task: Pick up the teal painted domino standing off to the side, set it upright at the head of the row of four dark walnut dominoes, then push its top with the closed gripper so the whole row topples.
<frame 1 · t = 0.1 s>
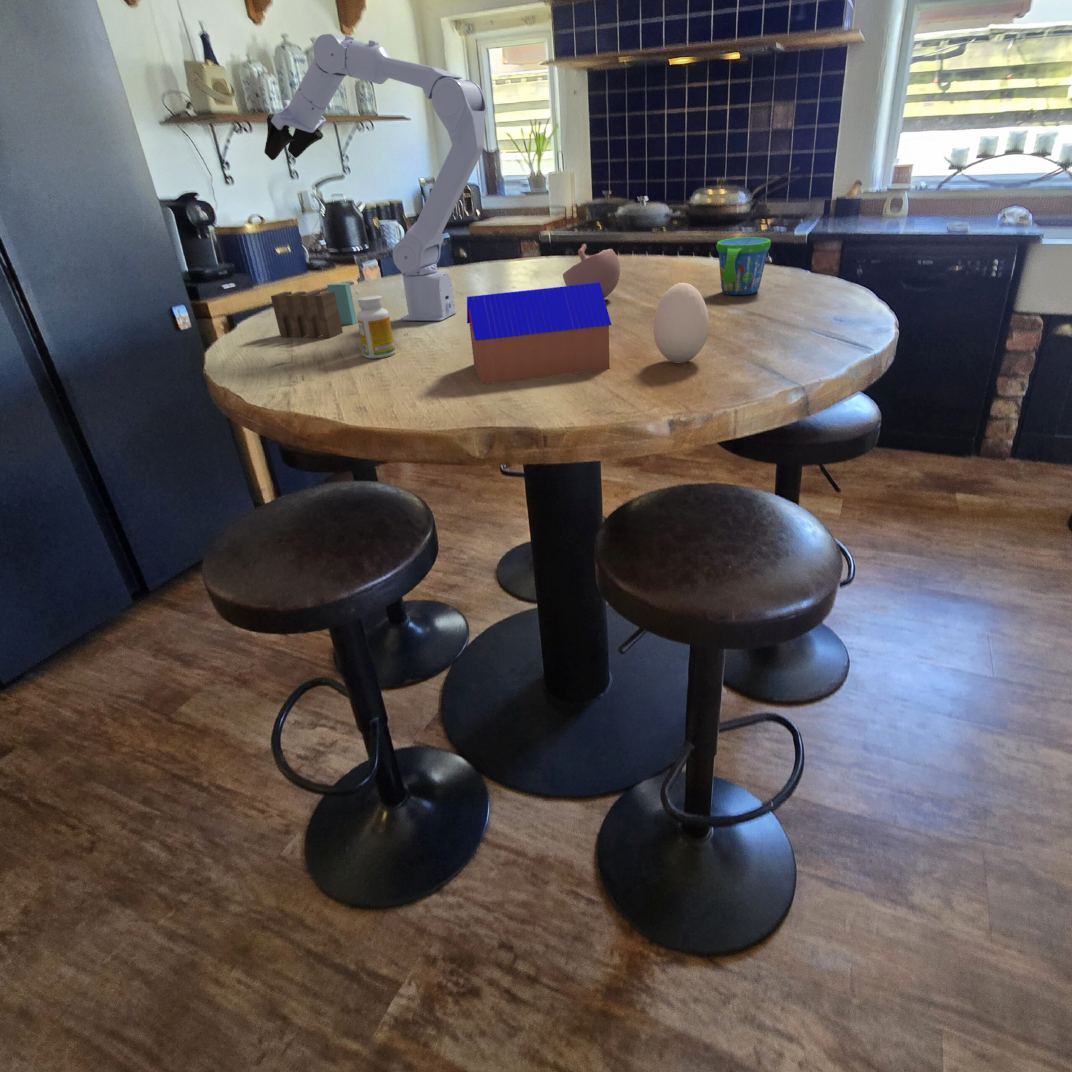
hand: (280, 155, 139), 32 cm above the table, tool tilted 50°, fingers open, 7 cm apart
tile4: (304, 334, 139), on the table
snack cup: (739, 293, 145), on the table
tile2: (333, 335, 137), on the table
supplement bottle: (380, 356, 120), on the table
house: (539, 369, 107), on the table
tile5: (290, 334, 140), on the table
tile3: (318, 335, 138), on the table
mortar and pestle: (592, 302, 148), on the table
teal tile: (346, 323, 146), on the table
egg: (679, 363, 104), on the table
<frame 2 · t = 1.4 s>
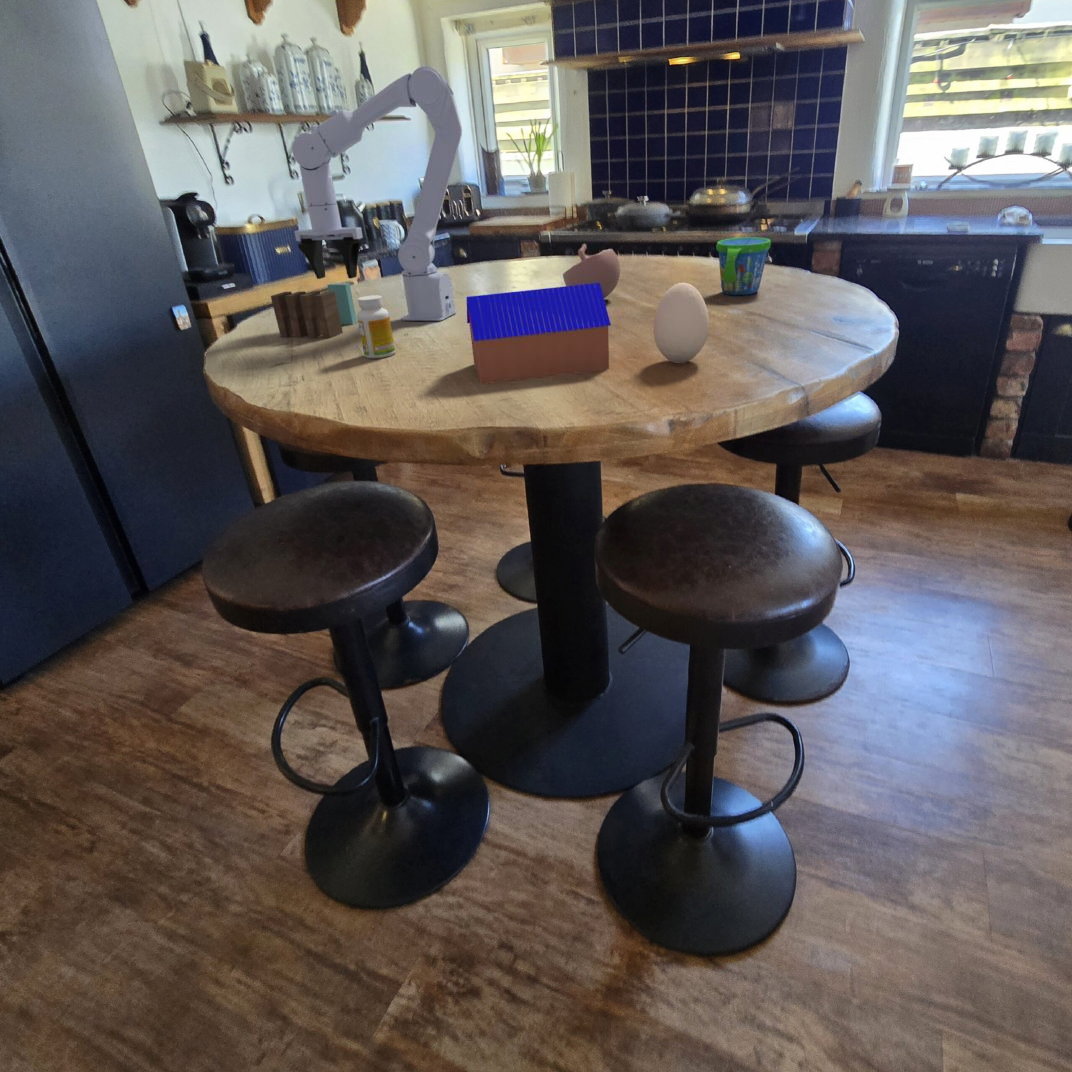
hand: (336, 277, 142), 9 cm above the table, tool pointing down, fingers open, 7 cm apart
nothing on the table moved.
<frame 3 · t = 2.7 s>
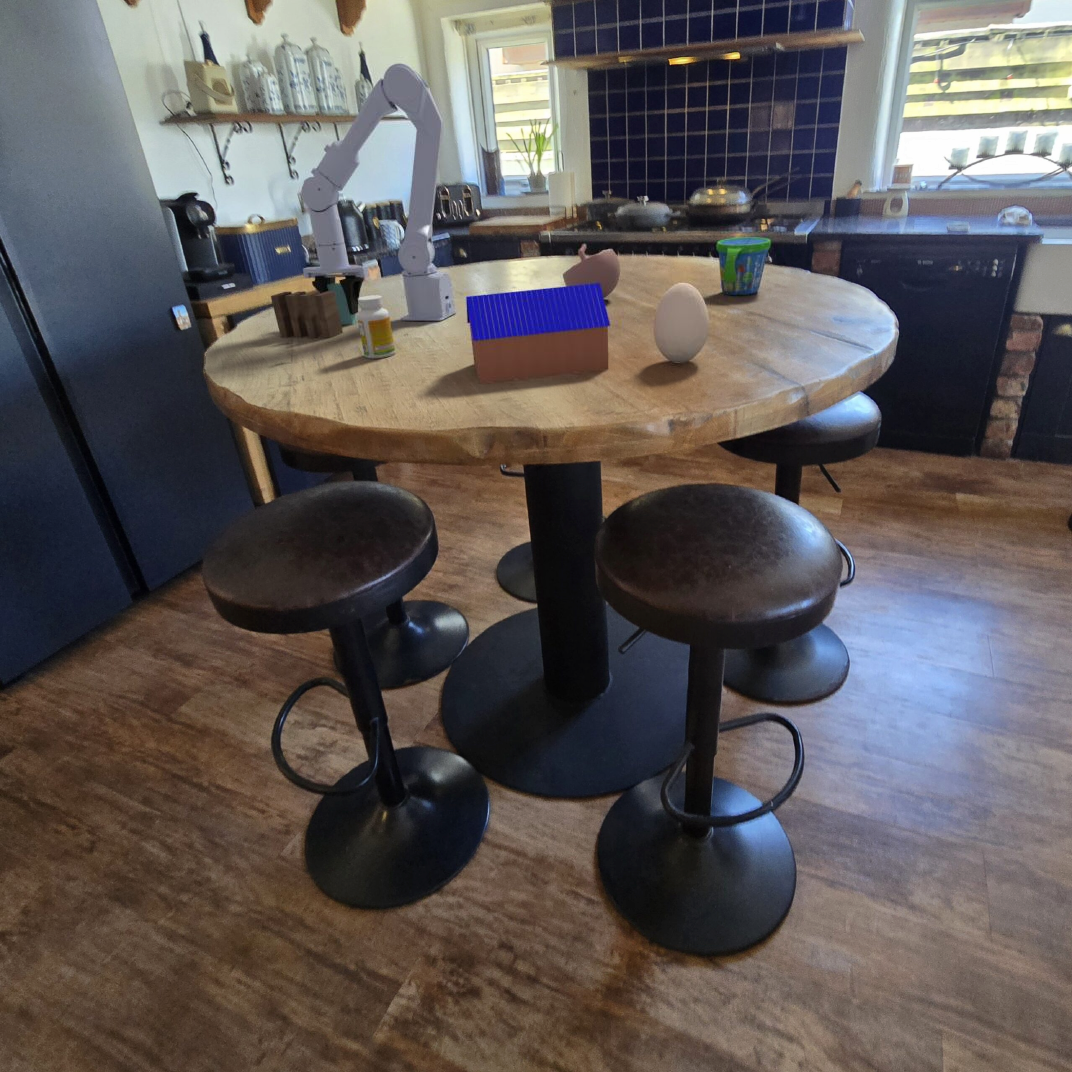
hand: (344, 313, 145), 2 cm above the table, tool pointing down, fingers closed on teal tile, 4 cm apart
teal tile: (346, 323, 146), on the table, touching gripper
everything else where it was.
when the fingers open (3 cm above the table, at t = 6.2 s): teal tile stays where it is, on the table.
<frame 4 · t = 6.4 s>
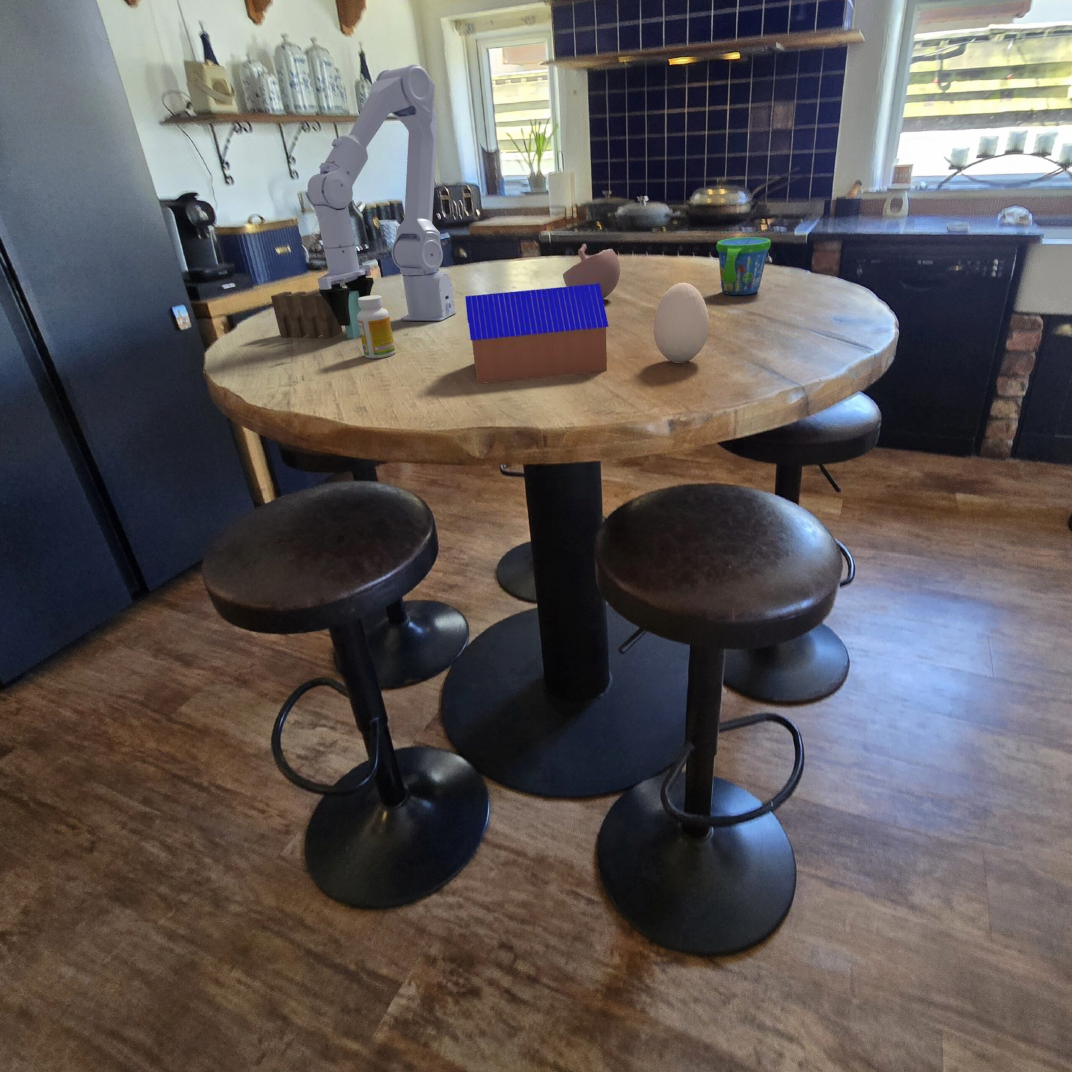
hand: (354, 321, 134), 3 cm above the table, tool pointing down, fingers open, 6 cm apart
teal tile: (356, 335, 135), on the table
everything else where it was.
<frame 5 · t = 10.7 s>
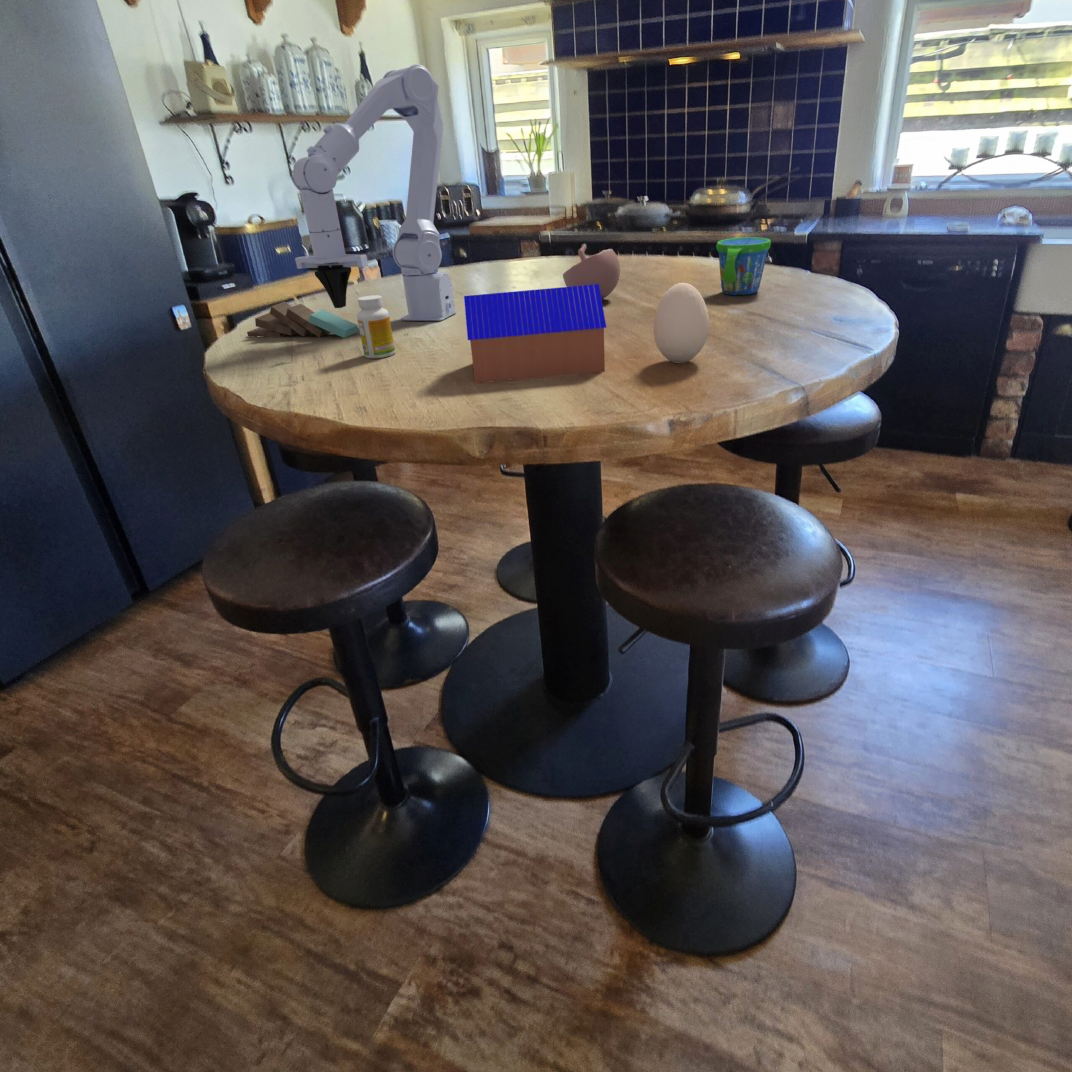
hand: (340, 307, 133), 5 cm above the table, tool pointing down, fingers closed
tile4: (297, 328, 139), point 1 cm above the table, tilted 76°, touching tile3
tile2: (327, 331, 137), point 1 cm above the table, tilted 58°
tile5: (287, 333, 140), on the table, tilted 90°
tile3: (310, 330, 138), point 1 cm above the table, tilted 55°, touching tile4
teal tile: (350, 331, 135), point 1 cm above the table, tilted 68°
everything else where it was.
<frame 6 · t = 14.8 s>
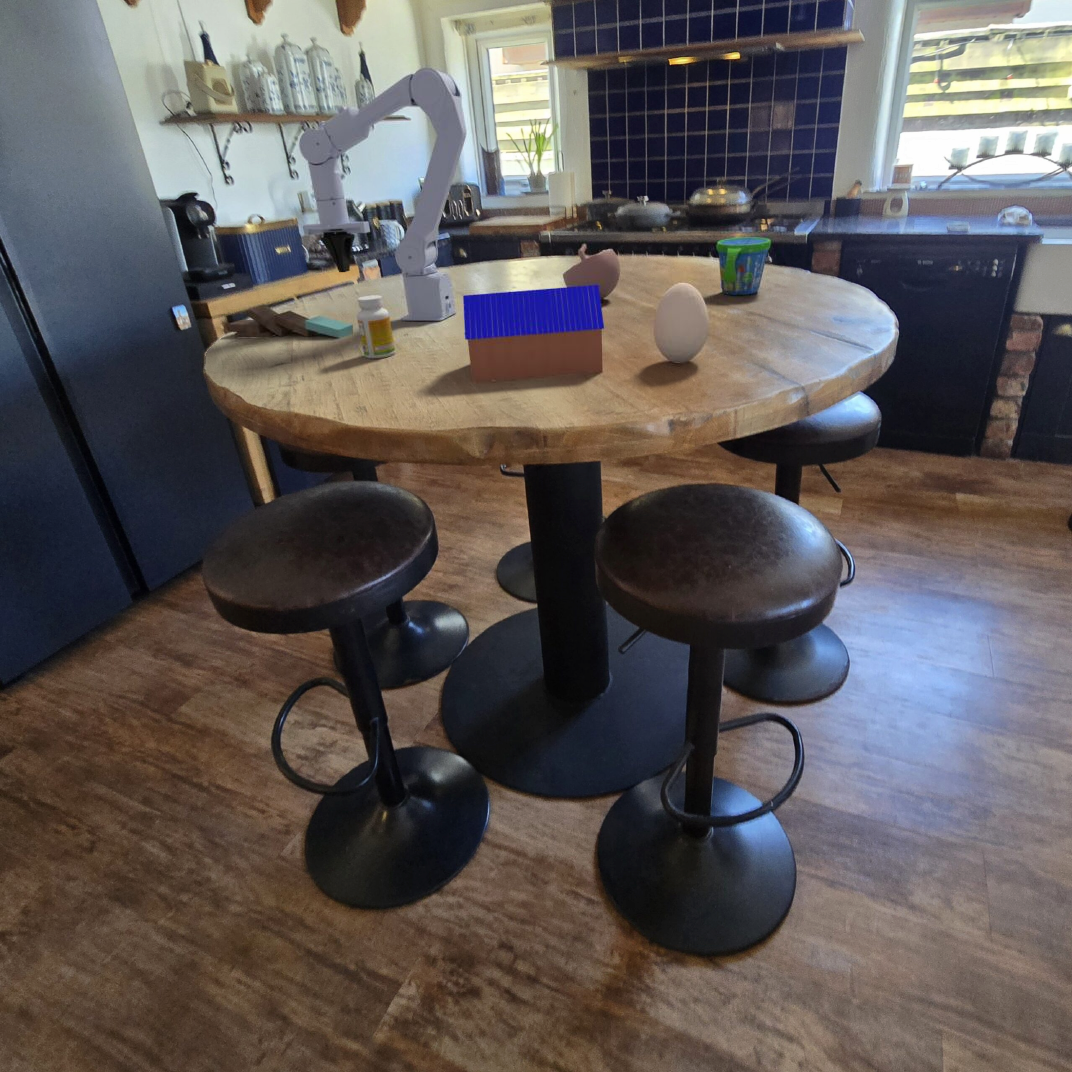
hand: (344, 271, 144), 10 cm above the table, tool pointing down, fingers closed
tile4: (266, 326, 141), point 2 cm above the table, tilted 90°, touching tile3, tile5
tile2: (314, 330, 138), point 1 cm above the table, tilted 71°, touching teal tile, tile3
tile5: (275, 334, 141), on the table, tilted 90°, touching tile4
tile3: (288, 330, 140), point 1 cm above the table, tilted 60°, touching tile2, tile4
teal tile: (346, 331, 135), point 1 cm above the table, tilted 78°, touching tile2
everything else where it was.
at the end: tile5 tilted 90°; teal tile tilted 78°; teal tile inside the target area (0.3 cm from its centre), point 0.8 cm above the table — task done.
